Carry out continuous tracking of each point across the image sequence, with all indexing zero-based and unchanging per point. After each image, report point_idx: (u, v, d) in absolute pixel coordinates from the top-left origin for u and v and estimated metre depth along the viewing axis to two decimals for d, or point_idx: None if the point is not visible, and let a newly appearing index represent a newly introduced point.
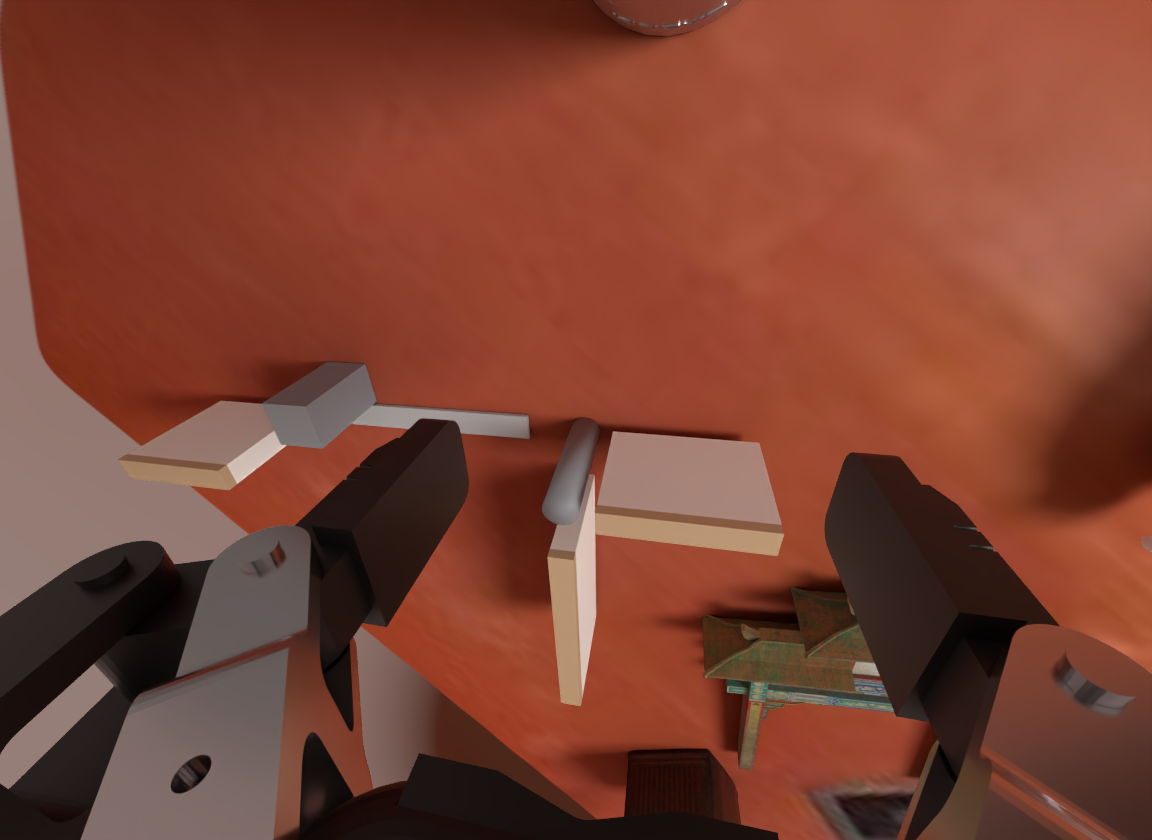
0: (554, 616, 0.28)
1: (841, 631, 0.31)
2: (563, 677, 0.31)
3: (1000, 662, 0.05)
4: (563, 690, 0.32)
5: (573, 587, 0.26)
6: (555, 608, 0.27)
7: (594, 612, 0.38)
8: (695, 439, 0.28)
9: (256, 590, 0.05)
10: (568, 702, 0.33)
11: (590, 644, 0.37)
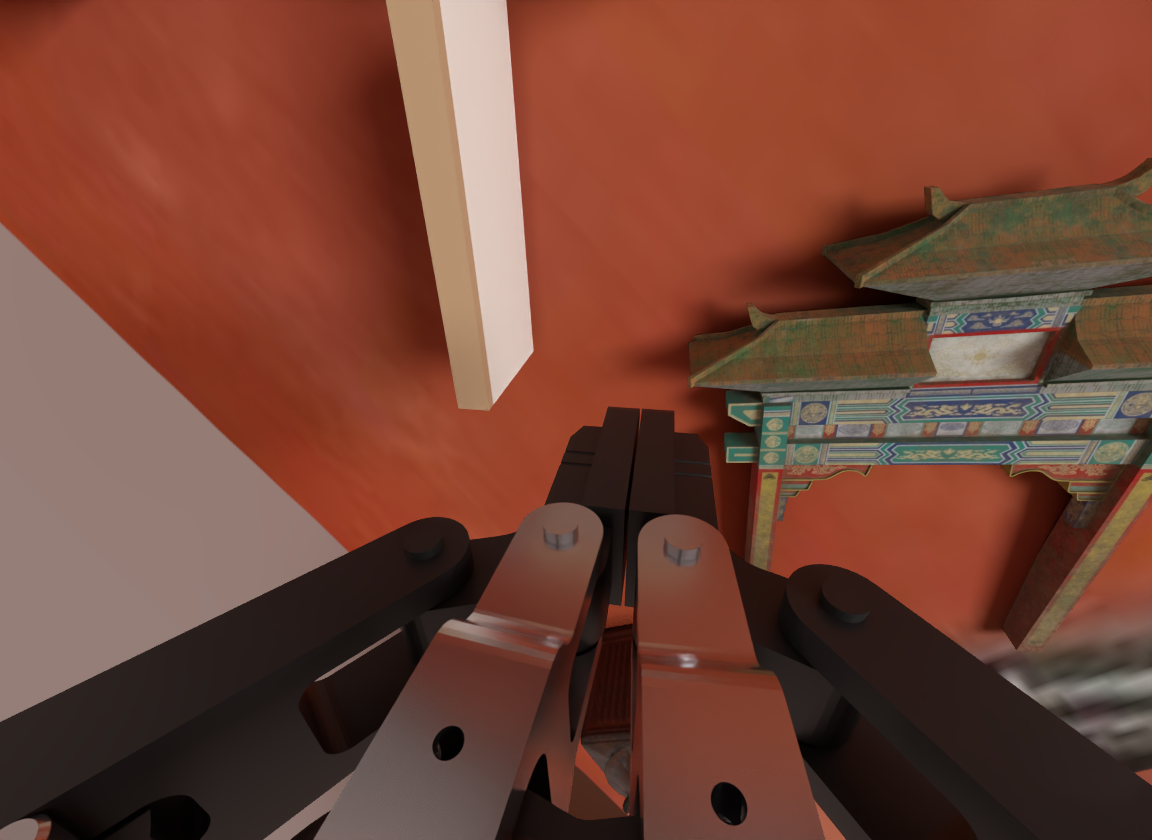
0: (413, 141, 0.15)
1: (917, 241, 0.18)
2: (452, 334, 0.19)
3: None
4: (457, 372, 0.20)
5: (432, 23, 0.14)
6: (411, 113, 0.15)
7: (527, 329, 0.25)
8: None
9: (548, 563, 0.06)
10: (469, 404, 0.21)
11: (517, 361, 0.24)
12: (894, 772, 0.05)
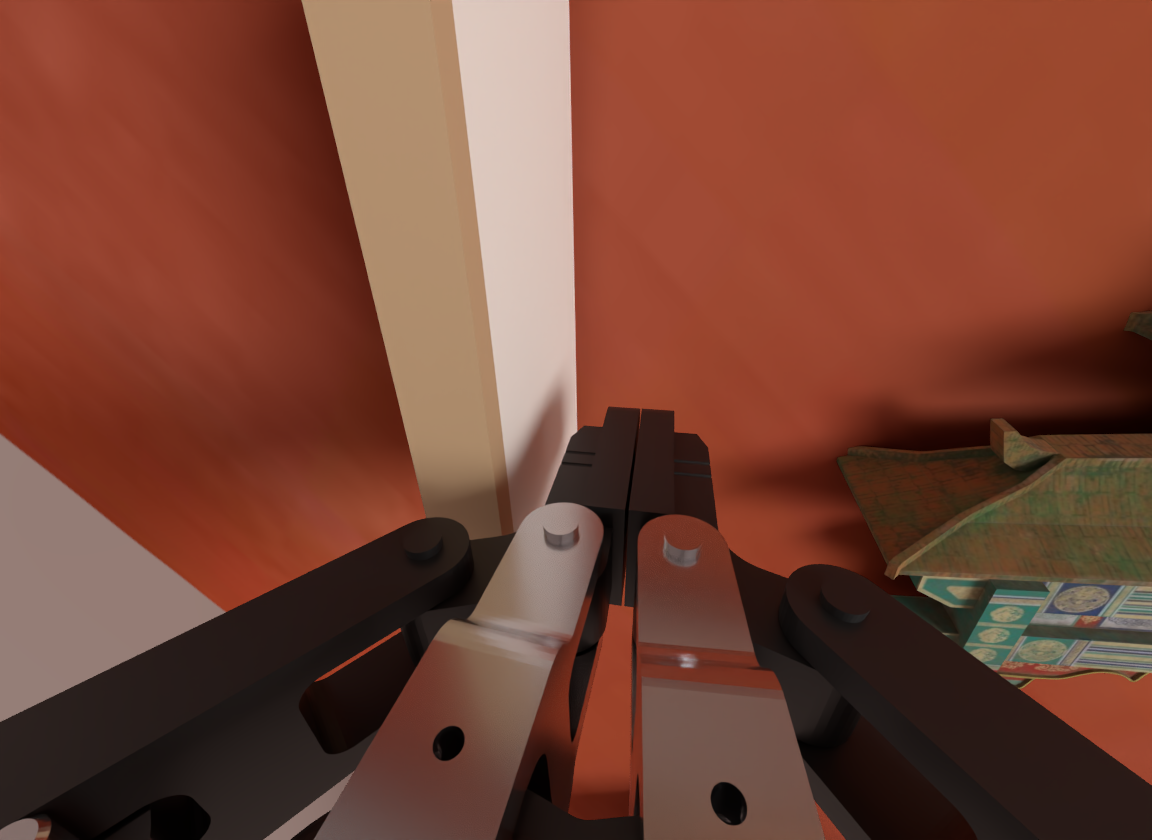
0: (329, 88, 0.05)
1: None
2: None
3: None
4: None
5: None
6: None
7: None
8: None
9: (548, 563, 0.06)
10: None
11: None
12: (894, 772, 0.05)
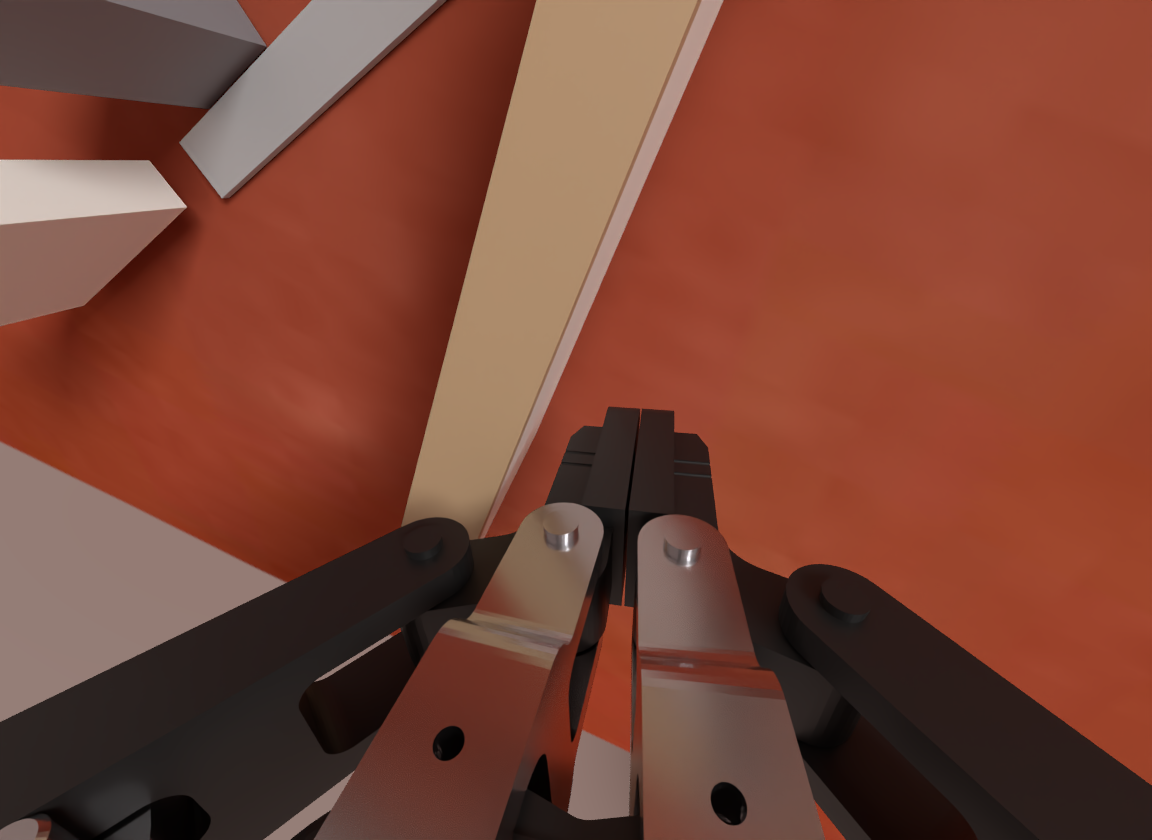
0: None
1: None
2: (434, 474, 0.08)
3: None
4: None
5: None
6: None
7: (546, 408, 0.15)
8: None
9: (548, 563, 0.06)
10: None
11: (516, 470, 0.13)
12: (894, 772, 0.05)
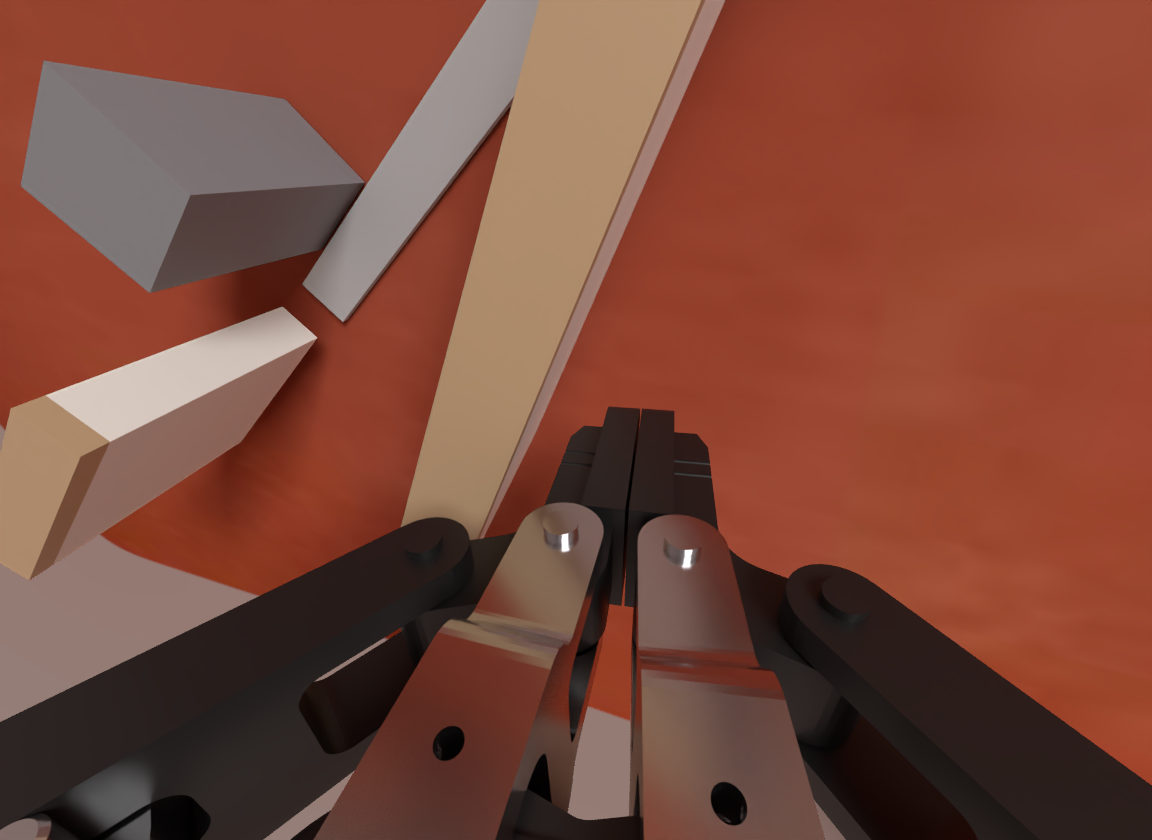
0: None
1: None
2: (434, 473, 0.08)
3: None
4: None
5: None
6: None
7: (546, 407, 0.15)
8: None
9: (548, 563, 0.06)
10: None
11: (516, 469, 0.13)
12: (894, 772, 0.05)
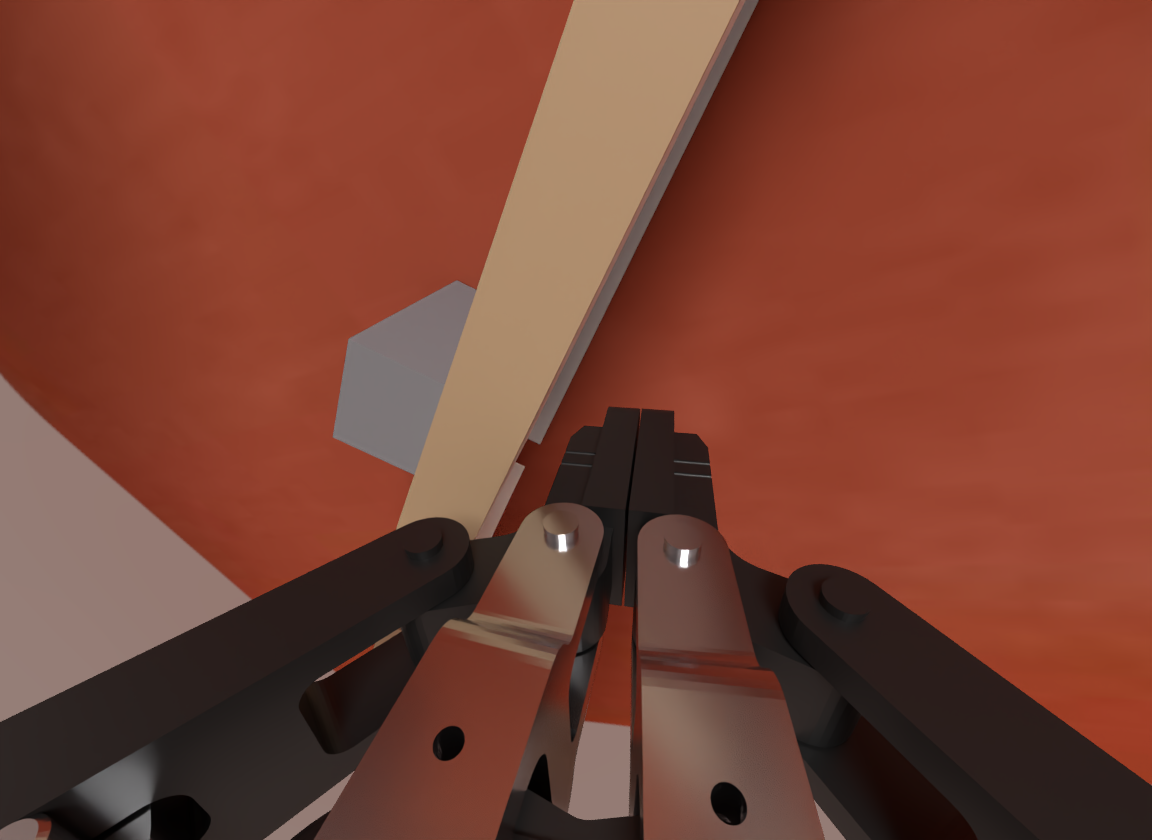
0: None
1: None
2: (437, 466, 0.08)
3: None
4: None
5: None
6: None
7: None
8: None
9: (548, 563, 0.06)
10: None
11: None
12: (894, 772, 0.05)
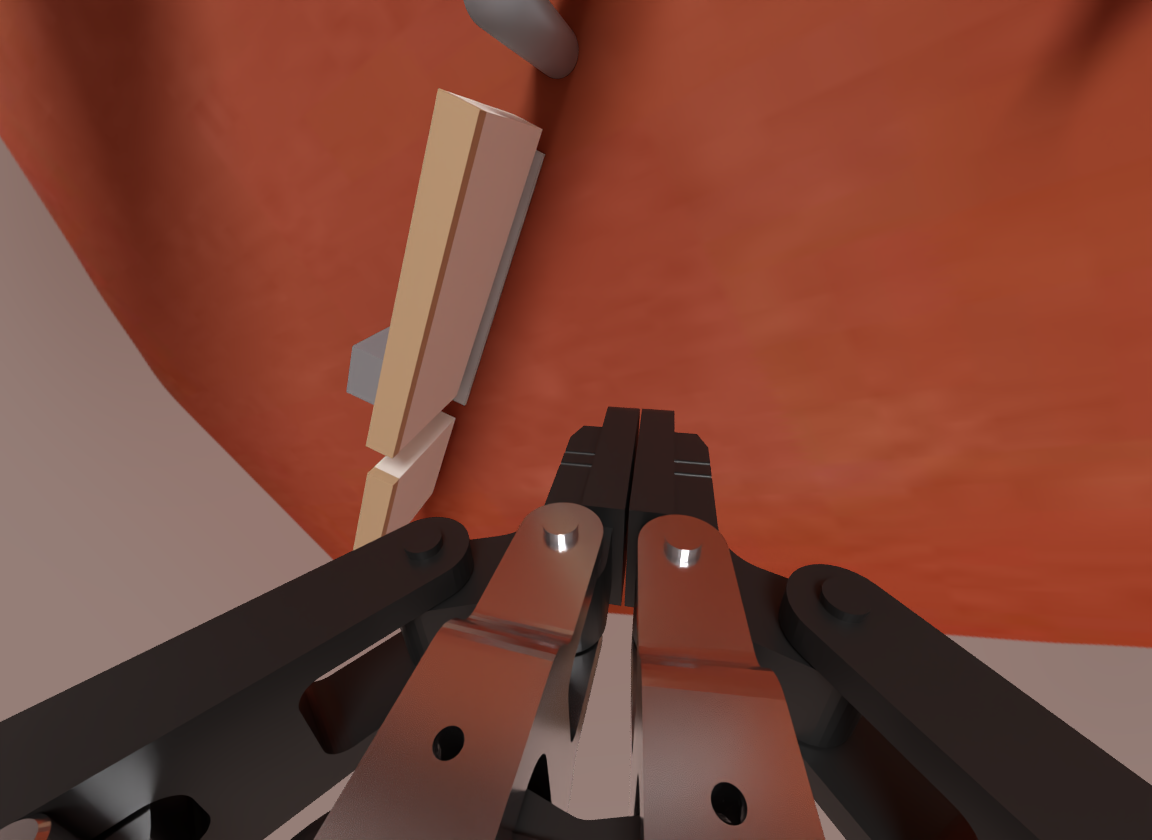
0: (408, 249, 0.17)
1: None
2: (383, 393, 0.21)
3: None
4: (376, 421, 0.22)
5: (459, 183, 0.16)
6: (415, 229, 0.17)
7: (457, 380, 0.28)
8: None
9: (548, 563, 0.06)
10: (376, 447, 0.23)
11: (436, 410, 0.26)
12: (895, 772, 0.05)
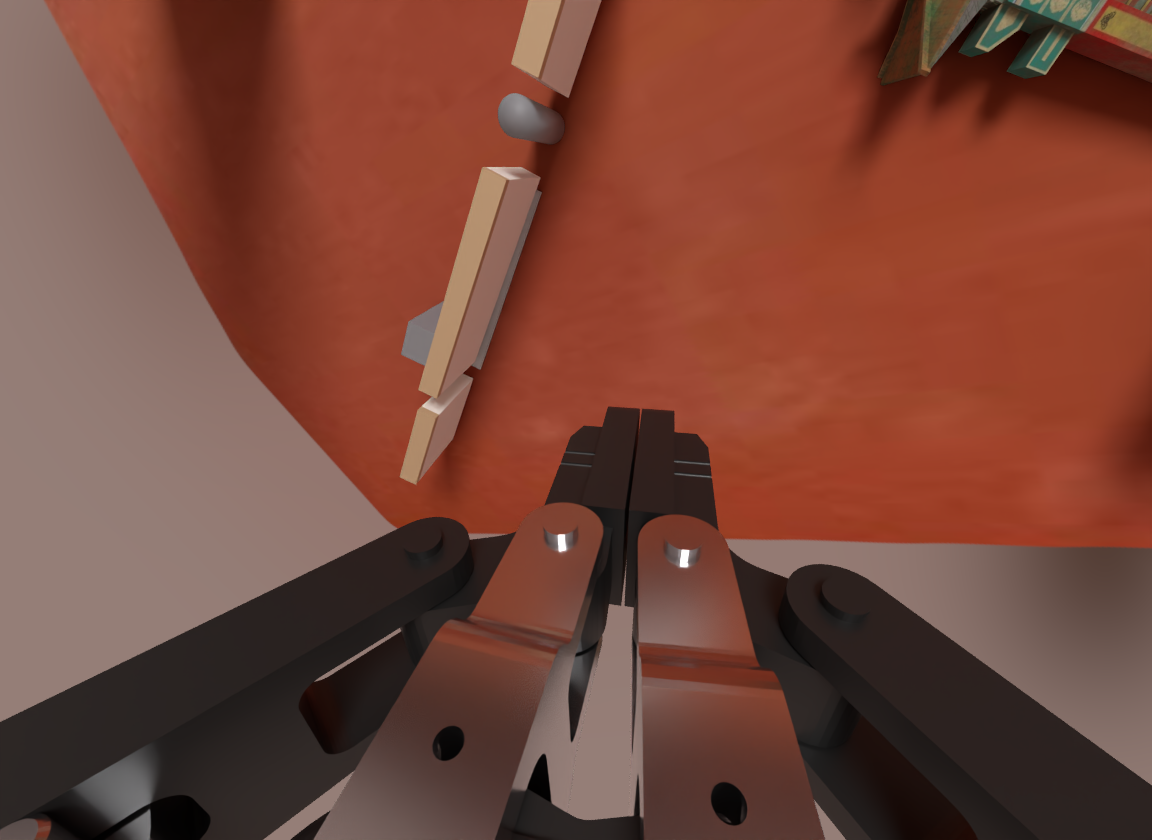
0: (457, 258, 0.28)
1: None
2: (434, 352, 0.31)
3: None
4: (427, 371, 0.32)
5: (491, 220, 0.26)
6: (463, 246, 0.27)
7: (477, 349, 0.38)
8: None
9: (548, 563, 0.06)
10: (426, 390, 0.33)
11: (463, 369, 0.37)
12: (894, 772, 0.05)
